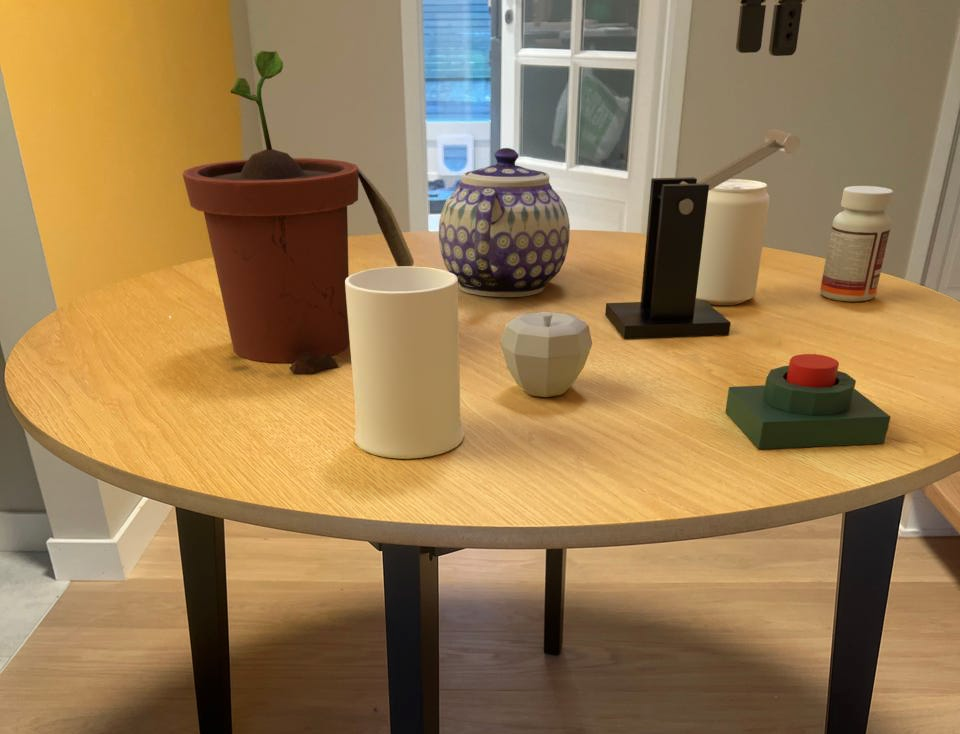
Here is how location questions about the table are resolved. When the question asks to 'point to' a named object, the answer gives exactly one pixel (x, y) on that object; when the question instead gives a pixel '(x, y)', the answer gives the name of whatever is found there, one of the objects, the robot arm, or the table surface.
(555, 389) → the apple
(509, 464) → the table surface
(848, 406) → the button box
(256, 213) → the potted plant
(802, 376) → the button
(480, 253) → the teapot
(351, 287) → the mug
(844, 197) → the pill bottle
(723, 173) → the lever
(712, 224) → the beverage can
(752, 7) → the robot arm
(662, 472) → the table surface
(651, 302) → the bracket
